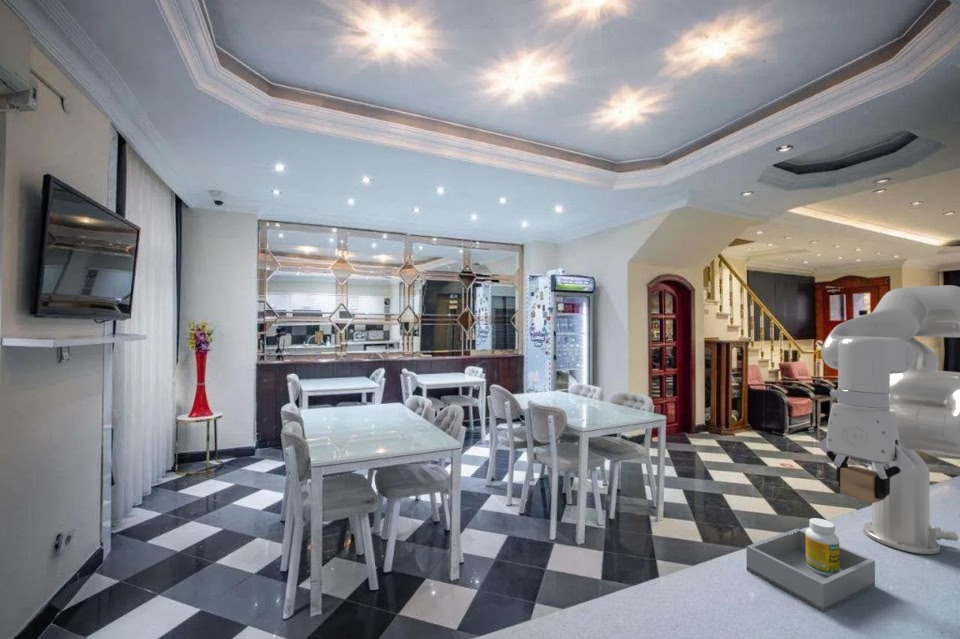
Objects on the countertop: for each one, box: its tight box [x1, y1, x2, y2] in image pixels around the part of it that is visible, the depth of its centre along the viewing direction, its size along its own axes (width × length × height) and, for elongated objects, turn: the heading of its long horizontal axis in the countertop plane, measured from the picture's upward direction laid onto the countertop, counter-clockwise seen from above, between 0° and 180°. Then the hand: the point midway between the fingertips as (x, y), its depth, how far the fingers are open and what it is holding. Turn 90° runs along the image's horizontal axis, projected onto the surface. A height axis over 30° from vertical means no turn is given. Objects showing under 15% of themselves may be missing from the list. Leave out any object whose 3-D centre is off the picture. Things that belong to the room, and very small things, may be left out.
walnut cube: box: [839, 465, 885, 504], centre depth 82 cm, size 5×5×5 cm
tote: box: [746, 528, 876, 614], centre depth 83 cm, size 18×14×5 cm
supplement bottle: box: [805, 517, 840, 576], centre depth 84 cm, size 5×5×10 cm
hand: (862, 491), depth 82 cm, fingers closed on walnut cube, 5 cm apart
